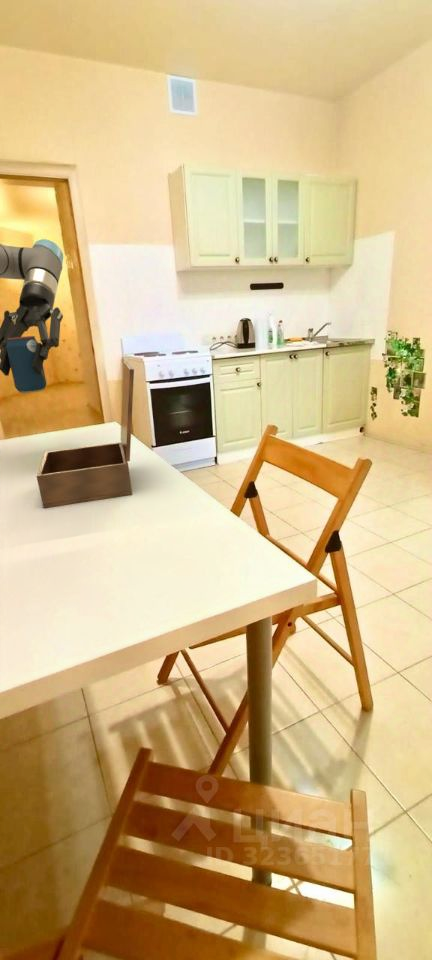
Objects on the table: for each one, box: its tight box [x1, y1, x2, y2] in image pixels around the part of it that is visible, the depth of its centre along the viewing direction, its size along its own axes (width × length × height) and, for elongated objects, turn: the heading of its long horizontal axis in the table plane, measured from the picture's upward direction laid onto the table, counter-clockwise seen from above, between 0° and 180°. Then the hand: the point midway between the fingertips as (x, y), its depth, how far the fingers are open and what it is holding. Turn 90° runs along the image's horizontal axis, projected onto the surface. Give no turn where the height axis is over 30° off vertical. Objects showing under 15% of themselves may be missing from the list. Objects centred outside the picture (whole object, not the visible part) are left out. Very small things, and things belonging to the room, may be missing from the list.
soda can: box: [6, 335, 47, 394], centre depth 102 cm, size 7×7×12 cm
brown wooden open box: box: [36, 441, 133, 509], centre depth 98 cm, size 18×18×7 cm
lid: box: [120, 361, 135, 462], centre depth 95 cm, size 18×18×1 cm
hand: (20, 370), depth 100 cm, fingers closed on soda can, 7 cm apart
